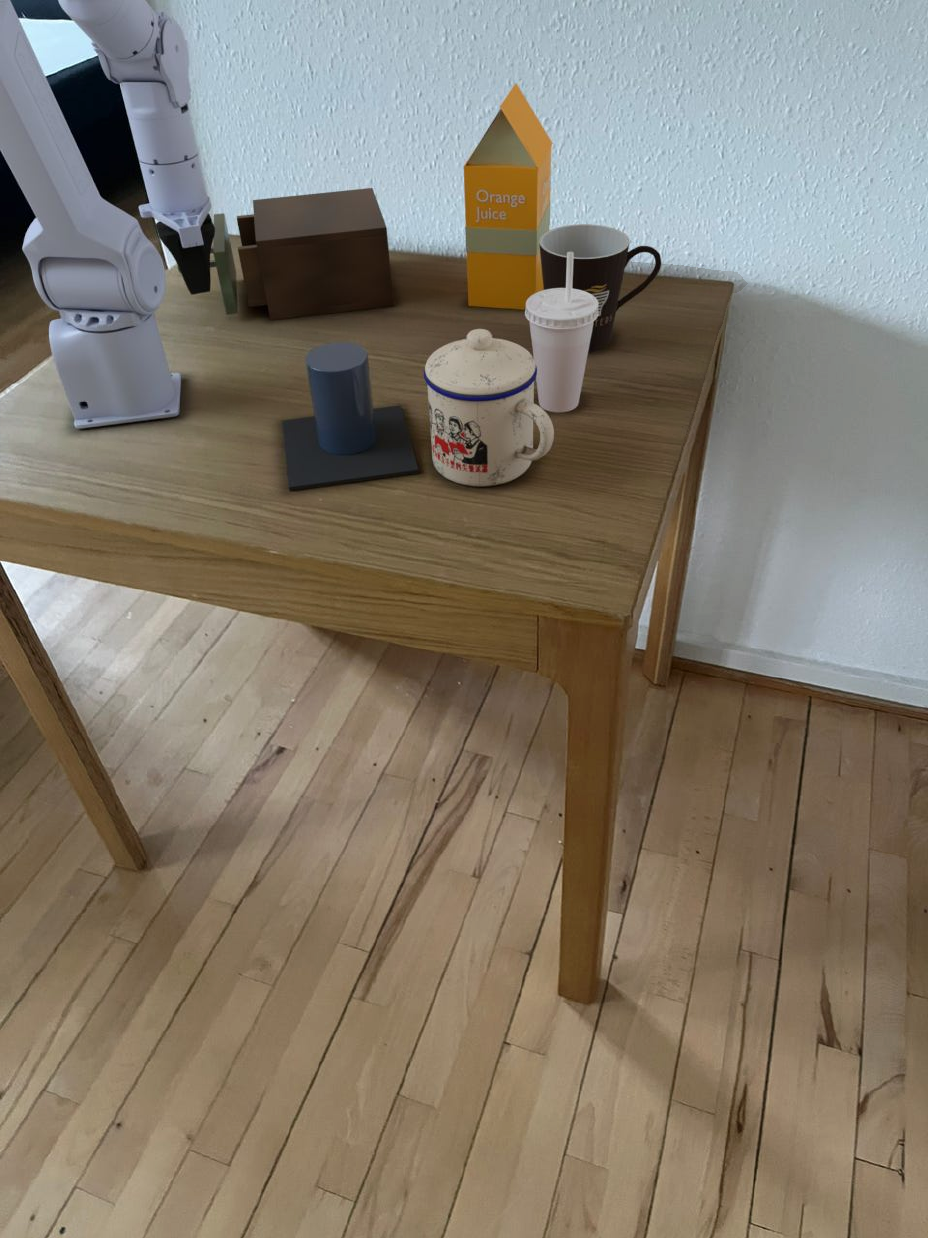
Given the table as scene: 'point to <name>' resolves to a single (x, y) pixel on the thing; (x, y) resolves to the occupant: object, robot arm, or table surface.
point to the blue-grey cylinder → (342, 397)
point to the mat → (324, 468)
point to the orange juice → (507, 207)
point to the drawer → (247, 260)
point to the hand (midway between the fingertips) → (199, 290)
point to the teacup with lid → (484, 410)
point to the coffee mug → (593, 269)
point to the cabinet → (323, 253)
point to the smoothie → (561, 341)
